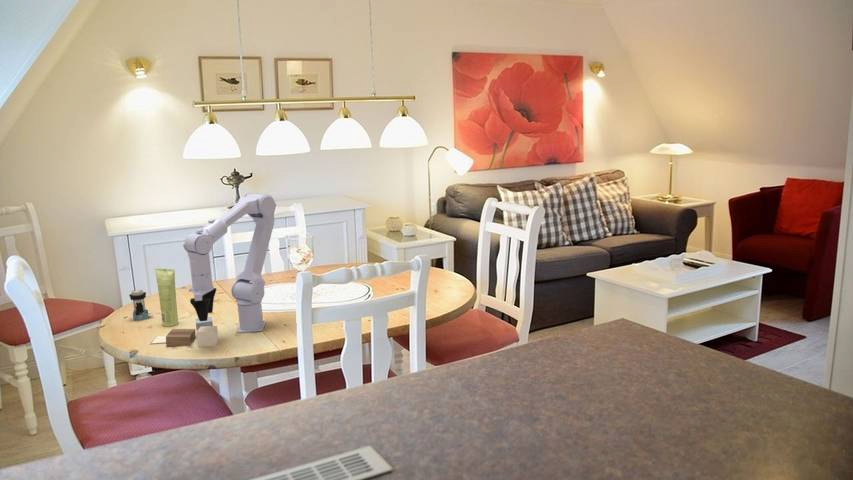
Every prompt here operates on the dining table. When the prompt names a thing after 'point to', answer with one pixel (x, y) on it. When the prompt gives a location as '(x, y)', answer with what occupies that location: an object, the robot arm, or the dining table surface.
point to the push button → (139, 305)
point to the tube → (167, 296)
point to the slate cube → (203, 323)
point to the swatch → (159, 340)
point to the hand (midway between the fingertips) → (206, 316)
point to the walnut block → (180, 337)
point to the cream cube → (207, 336)
